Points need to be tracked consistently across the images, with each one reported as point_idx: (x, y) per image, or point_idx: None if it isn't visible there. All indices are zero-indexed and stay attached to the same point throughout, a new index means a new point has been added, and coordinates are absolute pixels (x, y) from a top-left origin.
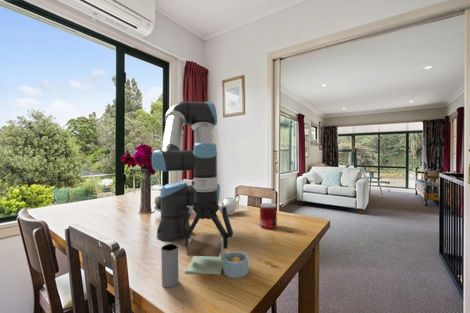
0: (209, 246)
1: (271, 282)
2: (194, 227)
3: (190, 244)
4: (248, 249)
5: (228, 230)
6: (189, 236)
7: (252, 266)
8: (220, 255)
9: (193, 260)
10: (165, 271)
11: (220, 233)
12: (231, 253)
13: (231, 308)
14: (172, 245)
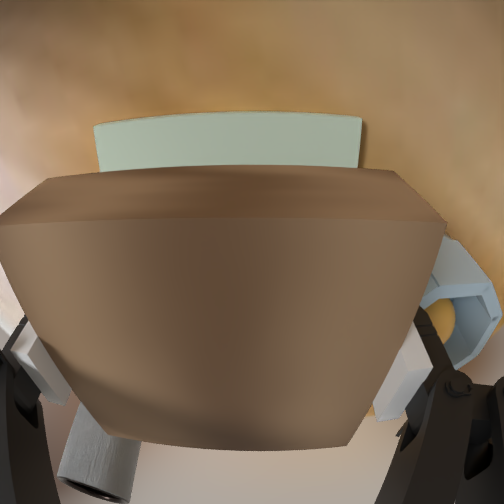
0: (275, 449)
1: (496, 327)
2: (23, 469)
3: (114, 426)
4: (501, 15)
5: (470, 482)
6: (29, 391)
7: (490, 235)
8: (316, 115)
9: None
10: None
11: (387, 477)
12: (426, 303)
13: None
14: (80, 479)
